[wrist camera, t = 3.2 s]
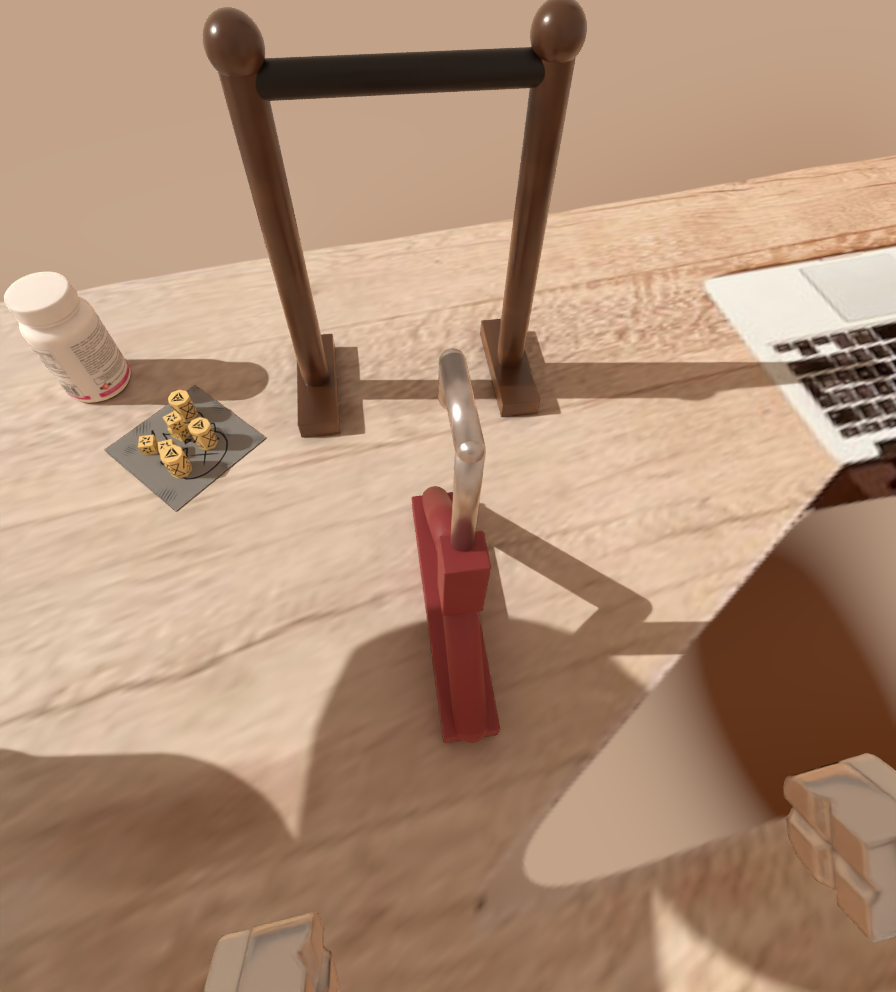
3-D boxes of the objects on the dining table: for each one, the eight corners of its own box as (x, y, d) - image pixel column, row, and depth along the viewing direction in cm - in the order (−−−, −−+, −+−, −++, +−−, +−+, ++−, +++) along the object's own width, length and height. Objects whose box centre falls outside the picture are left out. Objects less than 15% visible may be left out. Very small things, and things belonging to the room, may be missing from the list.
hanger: (499, 742, 32) (565, 624, 16) (444, 751, 32) (455, 639, 15) (455, 498, 40) (469, 254, 24) (411, 502, 40) (396, 260, 24)
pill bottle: (130, 352, 47) (75, 260, 39) (134, 395, 44) (77, 306, 37) (66, 366, 46) (-3, 275, 38) (67, 411, 43) (-5, 322, 36)
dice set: (189, 404, 44) (180, 386, 42) (234, 438, 42) (226, 421, 41) (132, 445, 42) (119, 429, 40) (177, 483, 40) (166, 467, 39)
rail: (301, 437, 42) (181, 58, 22) (299, 349, 47) (199, -30, 27) (537, 413, 44) (623, 39, 24) (513, 330, 49) (568, -40, 29)
